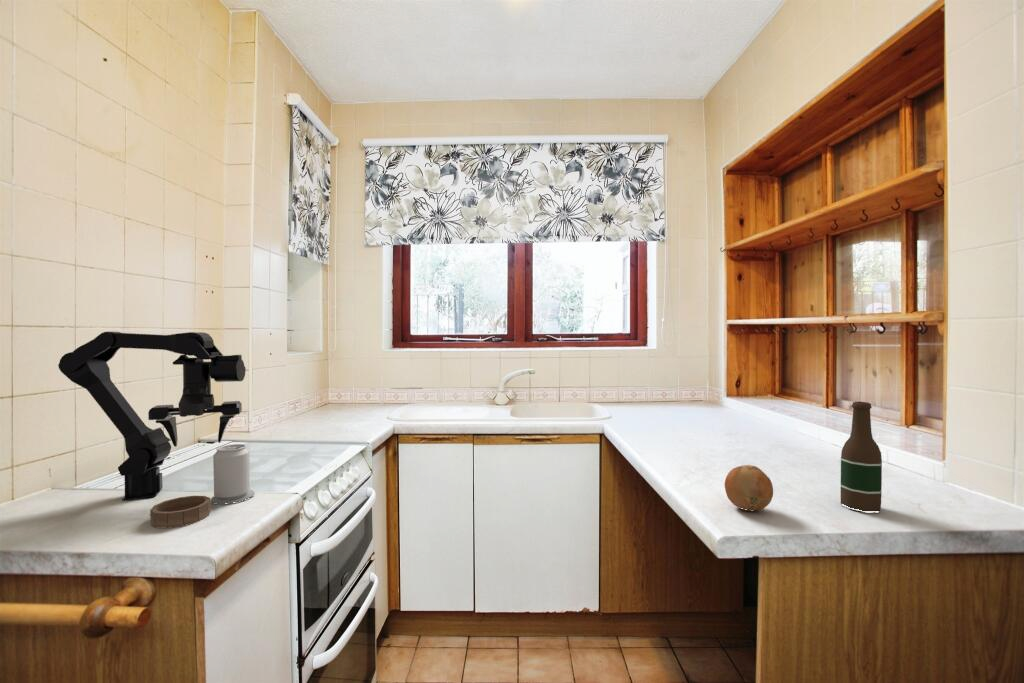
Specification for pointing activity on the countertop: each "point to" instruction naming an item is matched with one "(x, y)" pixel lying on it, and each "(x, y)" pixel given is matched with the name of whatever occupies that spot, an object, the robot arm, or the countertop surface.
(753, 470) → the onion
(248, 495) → the mat
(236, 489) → the can
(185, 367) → the robot arm
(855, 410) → the beer bottle
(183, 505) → the collar
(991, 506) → the countertop surface
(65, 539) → the countertop surface
